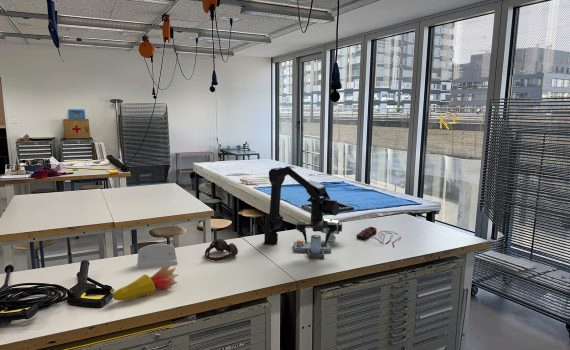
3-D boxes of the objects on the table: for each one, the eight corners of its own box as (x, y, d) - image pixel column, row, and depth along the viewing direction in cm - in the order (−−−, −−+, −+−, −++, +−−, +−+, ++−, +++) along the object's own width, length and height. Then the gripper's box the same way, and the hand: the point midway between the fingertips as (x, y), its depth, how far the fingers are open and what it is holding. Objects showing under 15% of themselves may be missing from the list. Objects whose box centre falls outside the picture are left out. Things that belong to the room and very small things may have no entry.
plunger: (296, 248, 189) (297, 241, 188) (296, 246, 192) (296, 239, 191) (303, 248, 189) (303, 241, 188) (302, 246, 192) (303, 239, 191)
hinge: (136, 269, 161) (136, 245, 163) (137, 269, 166) (136, 245, 168) (177, 265, 167) (176, 242, 169) (177, 264, 171) (176, 242, 173)
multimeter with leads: (351, 232, 205) (367, 222, 226) (350, 240, 206) (367, 229, 227) (394, 240, 193) (407, 229, 214) (393, 249, 194) (407, 236, 215)
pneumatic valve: (340, 243, 200) (341, 221, 198) (318, 241, 203) (319, 219, 201) (342, 239, 205) (342, 218, 203) (320, 237, 208) (321, 216, 206)
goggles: (241, 256, 178) (237, 237, 175) (219, 269, 170) (215, 250, 166) (220, 248, 189) (217, 230, 185) (199, 260, 180) (195, 242, 177)
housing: (294, 252, 186) (294, 248, 185) (293, 245, 195) (293, 241, 195) (331, 252, 186) (331, 248, 185) (328, 245, 196) (328, 242, 195)
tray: (308, 258, 178) (308, 254, 177) (307, 252, 185) (307, 249, 185) (324, 258, 178) (324, 254, 177) (322, 253, 185) (322, 249, 185)
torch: (115, 313, 133) (177, 282, 151) (122, 310, 127) (186, 279, 145) (106, 291, 134) (169, 263, 152) (113, 287, 128) (178, 259, 146)
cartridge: (310, 256, 179) (311, 237, 177) (310, 252, 183) (310, 234, 182) (321, 256, 179) (321, 237, 177) (320, 252, 184) (320, 234, 182)
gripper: (297, 215, 170) (296, 249, 172) (339, 216, 170) (338, 250, 172) (296, 209, 181) (296, 241, 183) (336, 210, 181) (334, 242, 183)
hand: (316, 243), depth 180 cm, fingers open, 9 cm apart
